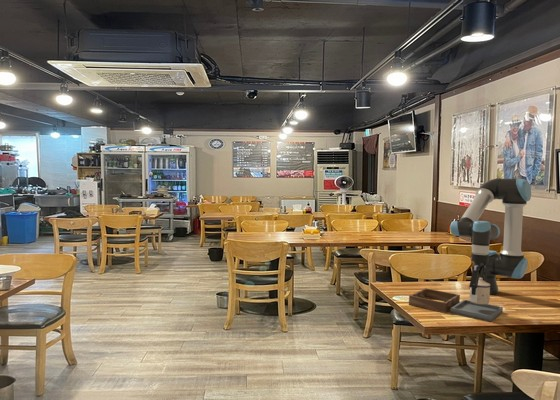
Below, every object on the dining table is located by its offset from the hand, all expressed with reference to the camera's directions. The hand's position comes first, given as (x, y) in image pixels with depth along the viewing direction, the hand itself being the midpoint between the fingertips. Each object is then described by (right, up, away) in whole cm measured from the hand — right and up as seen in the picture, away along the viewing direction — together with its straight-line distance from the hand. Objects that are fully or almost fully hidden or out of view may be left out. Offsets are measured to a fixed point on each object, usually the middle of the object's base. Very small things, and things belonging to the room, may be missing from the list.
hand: (477, 298), depth 204 cm
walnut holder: (-16, -5, +12) cm, 21 cm away
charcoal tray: (0, -7, 0) cm, 7 cm away
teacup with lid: (0, -2, 0) cm, 2 cm away
